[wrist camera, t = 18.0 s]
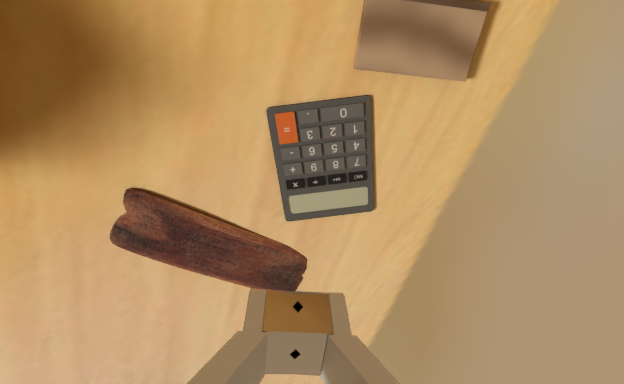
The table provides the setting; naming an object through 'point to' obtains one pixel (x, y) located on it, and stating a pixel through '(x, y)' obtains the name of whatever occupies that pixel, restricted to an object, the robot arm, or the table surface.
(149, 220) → the wooden tablet
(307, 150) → the calculator
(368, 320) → the table surface
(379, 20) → the laid board
